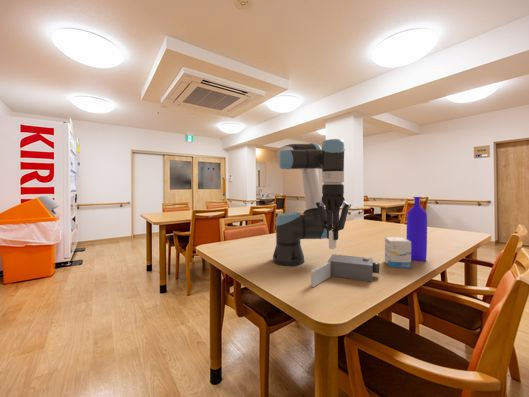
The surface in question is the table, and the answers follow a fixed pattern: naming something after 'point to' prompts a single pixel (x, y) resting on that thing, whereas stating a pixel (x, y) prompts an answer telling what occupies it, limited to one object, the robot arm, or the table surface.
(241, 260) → the table surface
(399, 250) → the ink box
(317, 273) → the side door
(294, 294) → the table surface
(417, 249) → the bottle
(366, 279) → the camera box
